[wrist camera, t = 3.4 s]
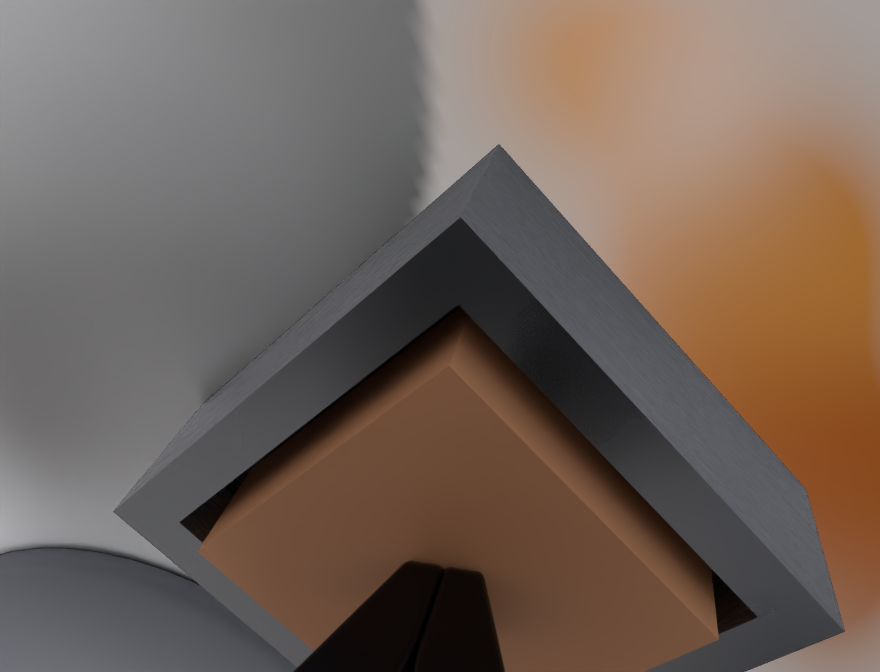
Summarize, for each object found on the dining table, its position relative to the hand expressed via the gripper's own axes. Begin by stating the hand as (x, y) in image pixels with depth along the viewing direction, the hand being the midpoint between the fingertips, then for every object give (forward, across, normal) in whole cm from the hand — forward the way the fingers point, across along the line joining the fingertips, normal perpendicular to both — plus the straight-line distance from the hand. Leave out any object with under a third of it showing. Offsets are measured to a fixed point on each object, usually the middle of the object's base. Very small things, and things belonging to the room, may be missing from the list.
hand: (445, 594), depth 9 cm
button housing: (+3, 0, 0) cm, 3 cm away
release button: (+2, 0, 0) cm, 2 cm away
